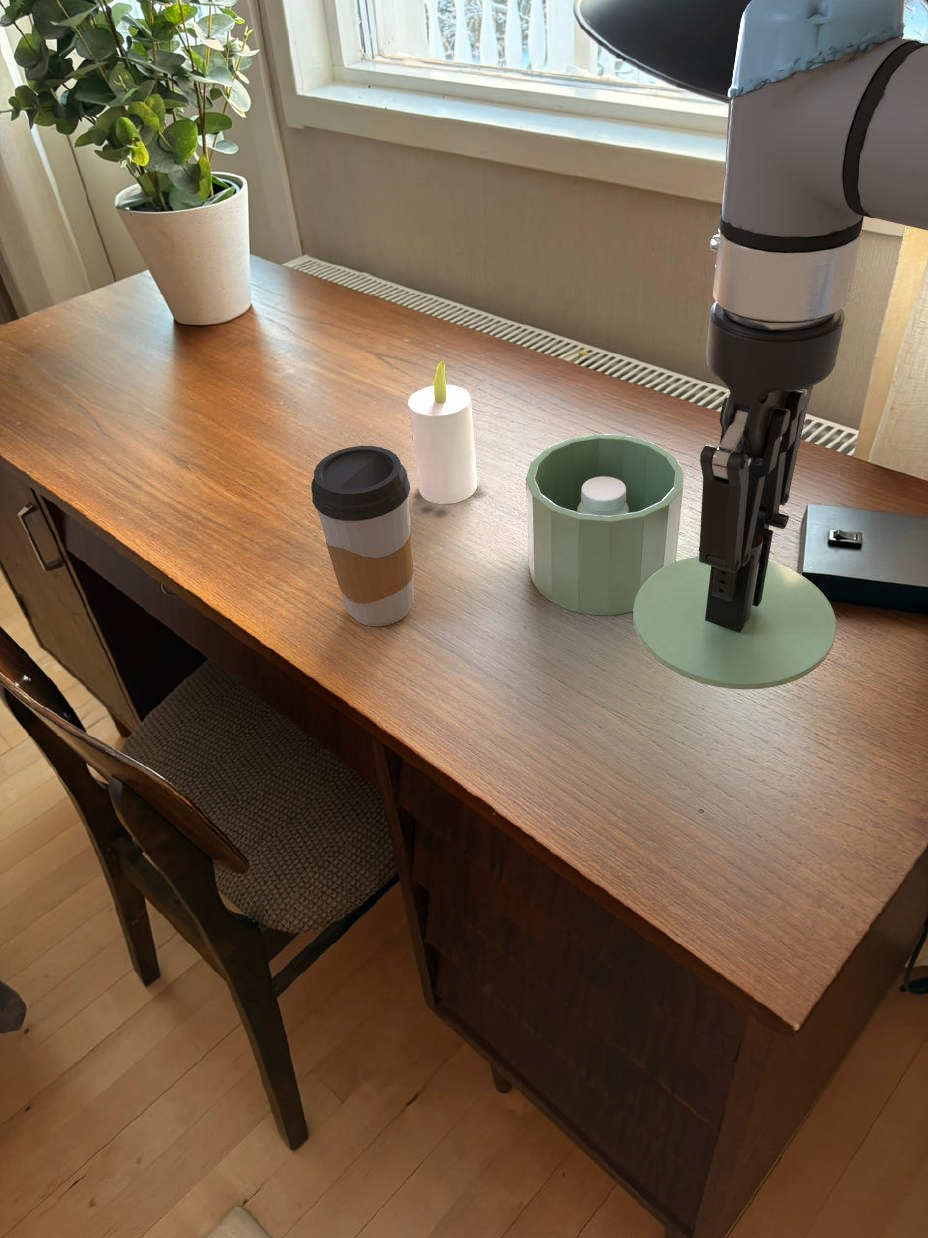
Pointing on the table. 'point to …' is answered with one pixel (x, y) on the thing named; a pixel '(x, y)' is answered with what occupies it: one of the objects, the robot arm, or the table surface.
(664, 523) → the pot
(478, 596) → the table surface
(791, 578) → the lid
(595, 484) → the supplement bottle
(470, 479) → the candle
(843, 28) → the robot arm
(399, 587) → the coffee cup
